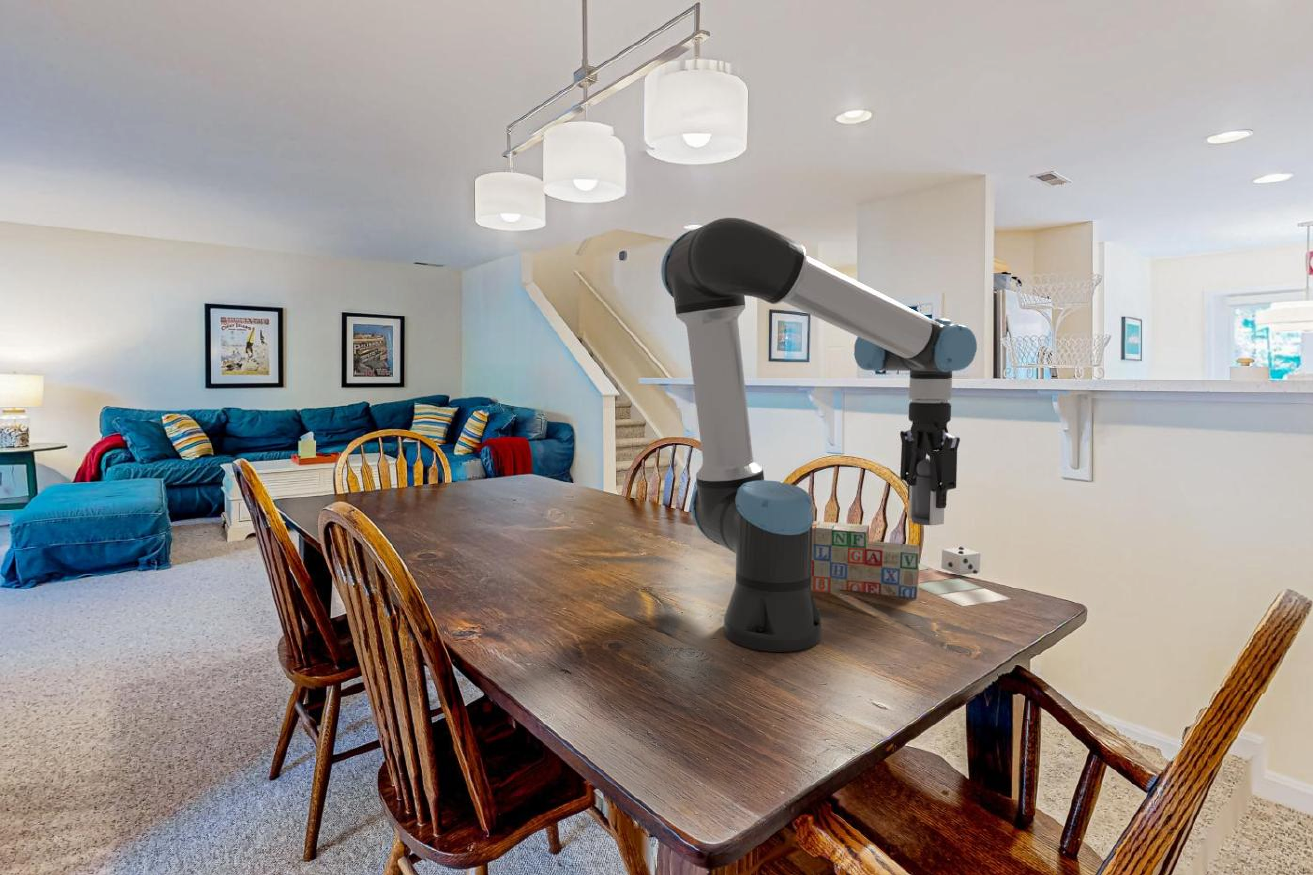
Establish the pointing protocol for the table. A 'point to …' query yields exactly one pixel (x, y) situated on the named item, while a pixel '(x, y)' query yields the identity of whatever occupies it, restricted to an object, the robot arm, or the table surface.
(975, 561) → the die
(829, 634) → the table surface
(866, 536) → the stack of blocks
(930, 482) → the pawn
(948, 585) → the board
